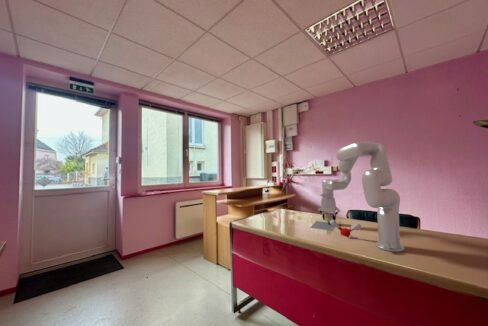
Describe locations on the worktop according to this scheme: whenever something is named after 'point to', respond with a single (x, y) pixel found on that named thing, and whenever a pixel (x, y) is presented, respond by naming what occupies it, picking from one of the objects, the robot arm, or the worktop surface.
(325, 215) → the bead
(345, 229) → the molecular model
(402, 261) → the worktop surface
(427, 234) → the worktop surface
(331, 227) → the lacing board
